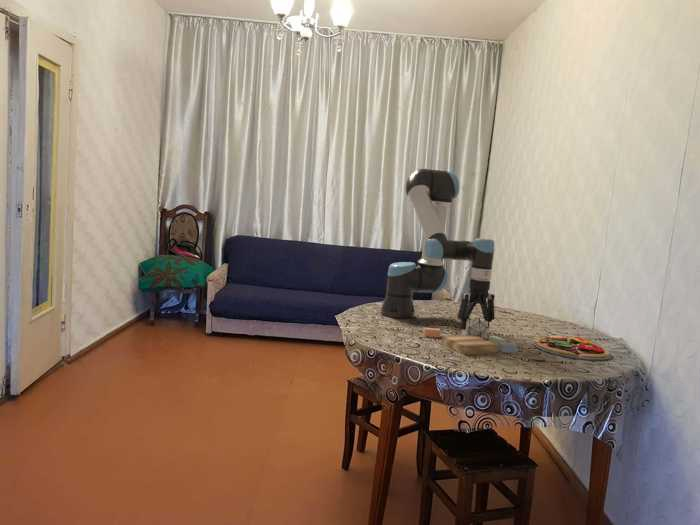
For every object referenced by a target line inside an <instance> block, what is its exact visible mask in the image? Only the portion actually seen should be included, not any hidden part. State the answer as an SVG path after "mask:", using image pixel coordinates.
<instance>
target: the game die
mask: <svg viewBox="0 0 700 525" xmlns="http://www.w3.org/2000/svg"><path fill="white" fill-rule="evenodd" d="M467 321H468V322H469V326H468V335H475V336H477V337H480V338H482V337H481V336H482V334H483V333H484V331H485V329H486V328H488V327H485V326H484V325H483V323H482V321H481V317H478V318H470V317H469V318H468V320H467Z"/></svg>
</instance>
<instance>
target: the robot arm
mask: <svg viewBox="0 0 700 525" xmlns="http://www.w3.org/2000/svg"><path fill="white" fill-rule="evenodd" d="M458 178H459V177H458V176H457V175H456V173H454V172H452V171H447V170H439V169H438V170H437V169H430V168H429V169H428V168H420V169H417V170H414V171H413V172H412V173H411V174H410V175H409V177H408V178H407V180H406V184H405V193H406V196H407V199H408V200H409V201H410V202H411V203H412V205H413V208H414V210H415V213H416V216H417V218H418V220H419V223H420V226H421V228H422V231H423V234H424V237H423V244H422V245H423V246H422V252H421V253H422V254H421V258H420V259H418V260H417V265H416V263H415V262H412V261H401V262H393V263H390V265H389V266H388V271H387V281H386V294H385V298H384V300H383V302H382V305H381V307H380V313H379V314H380V315H381V316H386V317H389V318H394V319H395V318H396V319H413V318H415V314H416V311H415V305H414V301H413V295H414V293H430V294H433V293H440V292H442V291H443V290H444V289H445V287H446V285H447V283H448V278H449V276H448V270H447V269H446V267H445V266H444V265H445V264H444V262H443V261H442V260H452V261H467V262H468V261H469V262H471V269H470V278H471V279H470V280H469V291H468V293H464V292H463V293H462V294H461V303H460V306H459V310H458V312H457V319H458V320H460V322H461V324H460V330H461V334H460V335H468V326H469V322H468V320H469V319H470V316H471V314H472V311H473V310H474V308H475V307H476V306H477V304H478V305H480V309H481V312H482V315H483V319H482V321H481V322H482V323H483V325H484V326H485V327H488V328H486V329H485V331H484V333H483V334H482V336H481V338H482V339H487V337H488V336H487V335H488V330H489V328H490V323H491V322H492V321H493V320H495V318H496V317H495V304H494V303H495V297H496V295H495V294H492V293H489V290H490V287H491V281H490V280H491V279H492V278H491V277H492V272H493V271H492V268H493V262H494V254H495V240H494V239H489V238H480V237H477V238H475V239H474V242H473V241H470V240H450V239H448V238H447V236H446V232H445V231H446V224H447V216H448V208H449V206H450V205H452V203H453V200H454V199H456V198H457V197H458V194H459V192H460V182H459V179H458ZM468 318H469V319H468Z"/></svg>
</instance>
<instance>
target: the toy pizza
mask: <svg viewBox="0 0 700 525" xmlns="http://www.w3.org/2000/svg"><path fill="white" fill-rule="evenodd" d="M532 345H533V346H534V347H535V346H536V347H535V348H537V349H538V348H539V350H540V349H541V350H540V351H542V350H543V351H542V352H545V351H546V352H545V353H548V352H549V353H548V354H551V353H552V355H554V354H556V356H558V355H560V356H559V357H563V356H564V358H568V357H569V359H574V358H575V360H583V361H605V360H609V359H611V358H612V356H613V354H612V353H611V352H610V351H608V350H607V349H606V348H604V347H601V346H599V345H597V344H595V343H594V342H592V341H591V340H589V339H586V338H583V337H577V336H574V337H570V338H569V339H568V337H567V336H562V335H550V336H545V337H541V338H540V337H539V338H537V339H535V340H533V342H532Z"/></svg>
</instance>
